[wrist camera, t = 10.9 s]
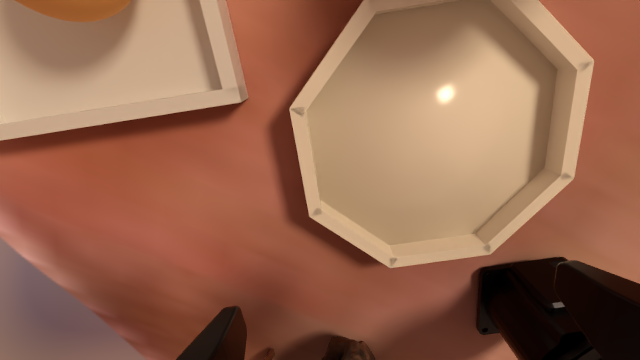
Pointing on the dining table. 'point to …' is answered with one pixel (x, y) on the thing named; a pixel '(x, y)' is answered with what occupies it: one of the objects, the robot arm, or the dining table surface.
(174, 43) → the tray
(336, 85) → the bowl
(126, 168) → the dining table surface
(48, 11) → the ball
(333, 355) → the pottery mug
